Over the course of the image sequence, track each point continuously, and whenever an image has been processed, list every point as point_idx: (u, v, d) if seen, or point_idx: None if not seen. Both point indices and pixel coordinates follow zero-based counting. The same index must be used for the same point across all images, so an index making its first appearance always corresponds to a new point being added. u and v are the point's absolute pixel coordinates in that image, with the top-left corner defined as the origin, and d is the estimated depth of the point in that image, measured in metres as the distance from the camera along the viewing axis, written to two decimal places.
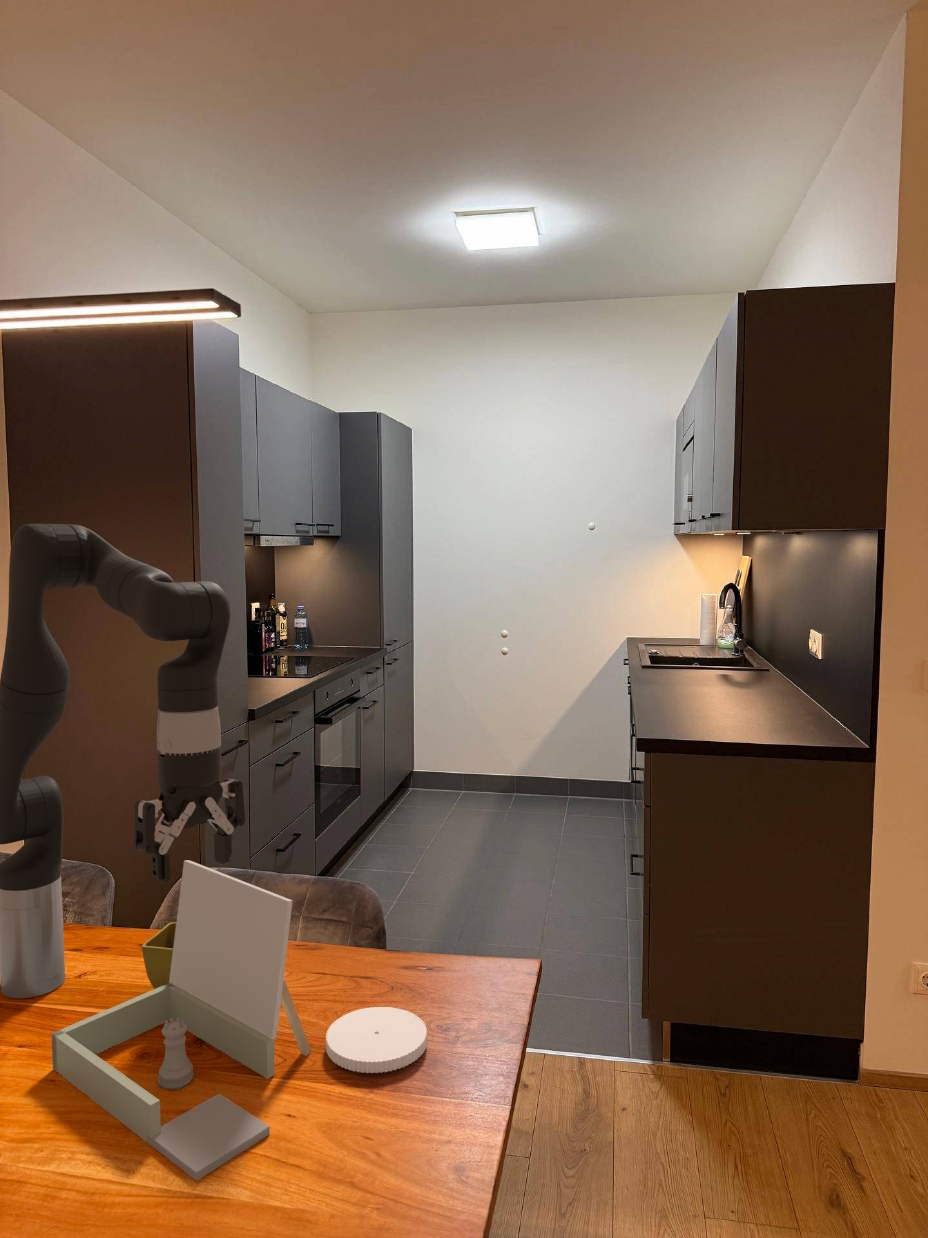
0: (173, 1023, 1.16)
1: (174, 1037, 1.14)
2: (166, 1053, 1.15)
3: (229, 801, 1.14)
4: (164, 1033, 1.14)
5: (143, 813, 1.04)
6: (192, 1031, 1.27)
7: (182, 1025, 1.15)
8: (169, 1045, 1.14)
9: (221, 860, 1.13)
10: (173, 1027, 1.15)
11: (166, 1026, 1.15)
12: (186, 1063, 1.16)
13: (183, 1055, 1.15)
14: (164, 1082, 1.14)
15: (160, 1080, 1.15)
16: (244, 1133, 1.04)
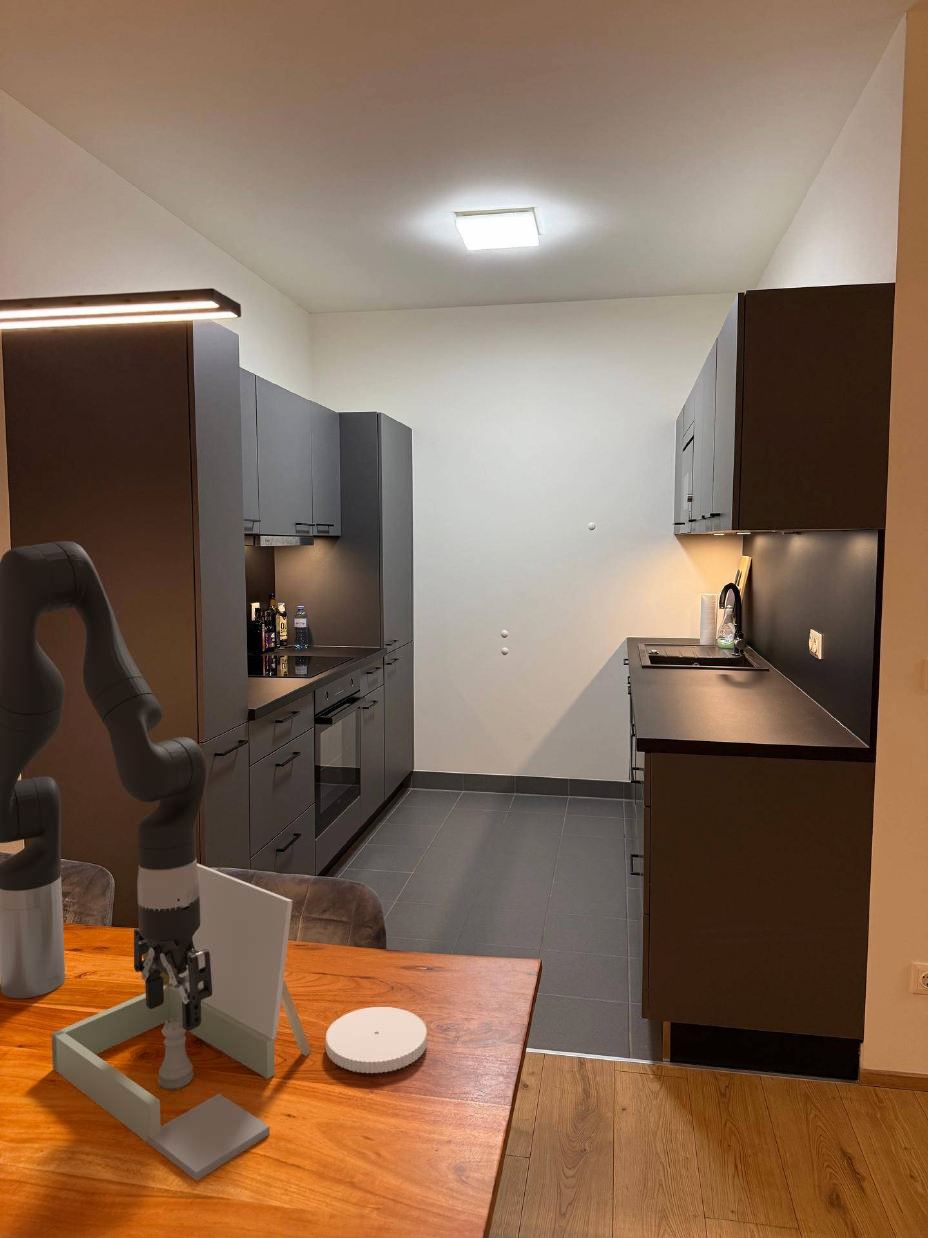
0: (173, 1023, 1.16)
1: (174, 1037, 1.14)
2: (166, 1053, 1.15)
3: (146, 948, 1.18)
4: (164, 1033, 1.14)
5: (204, 962, 1.10)
6: (192, 1031, 1.27)
7: (182, 1025, 1.15)
8: (169, 1045, 1.14)
9: (158, 1003, 1.18)
10: (173, 1027, 1.15)
11: (166, 1026, 1.15)
12: (186, 1063, 1.16)
13: (183, 1055, 1.15)
14: (164, 1082, 1.14)
15: (160, 1080, 1.15)
16: (244, 1133, 1.04)
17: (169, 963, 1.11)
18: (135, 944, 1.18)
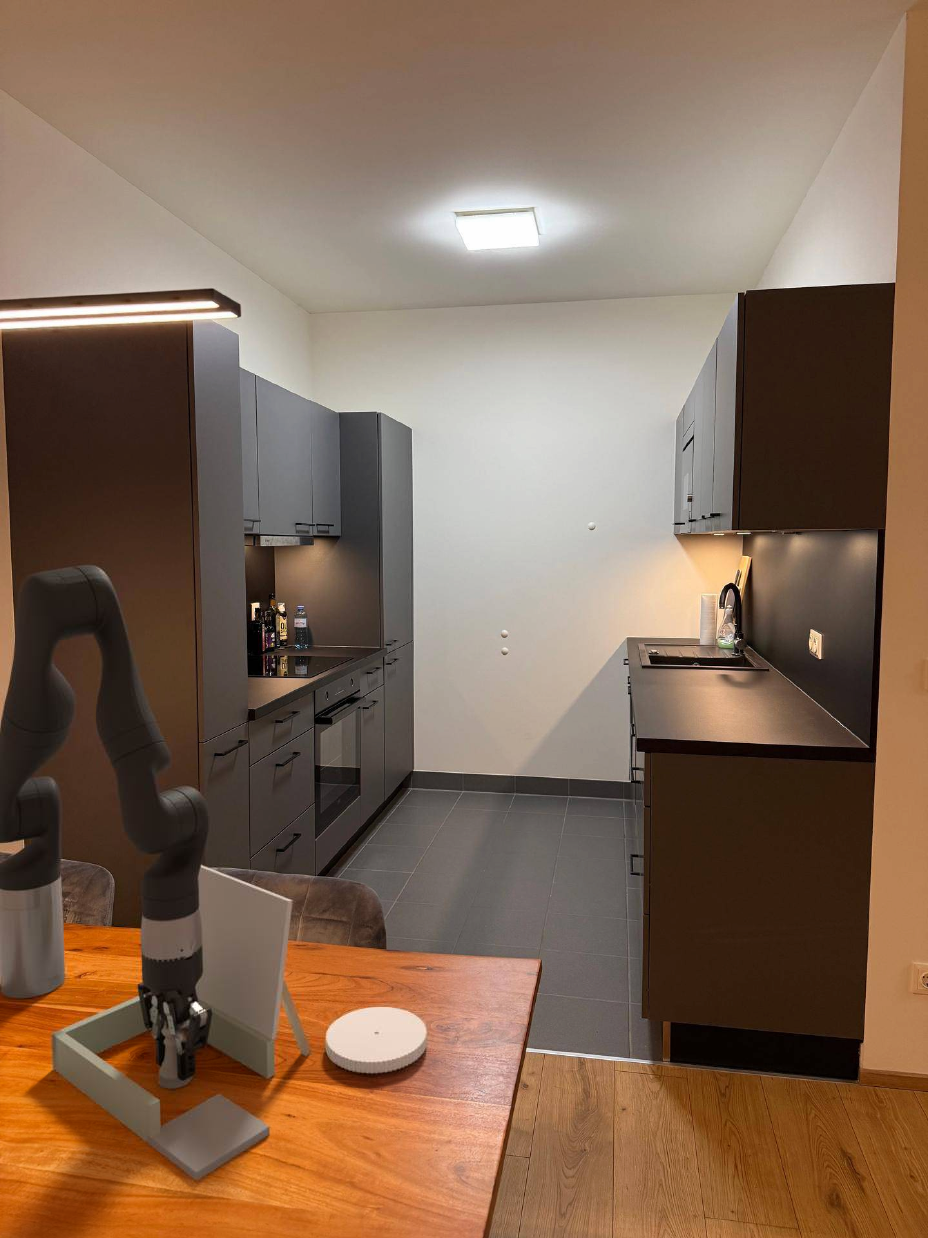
0: None
1: (174, 1037, 1.14)
2: (166, 1053, 1.15)
3: (152, 1002, 1.18)
4: (164, 1033, 1.14)
5: (206, 1020, 1.12)
6: None
7: None
8: (169, 1045, 1.14)
9: None
10: None
11: (166, 1026, 1.15)
12: None
13: None
14: (164, 1082, 1.14)
15: (160, 1080, 1.15)
16: (244, 1133, 1.04)
17: (171, 1014, 1.12)
18: (141, 1000, 1.18)
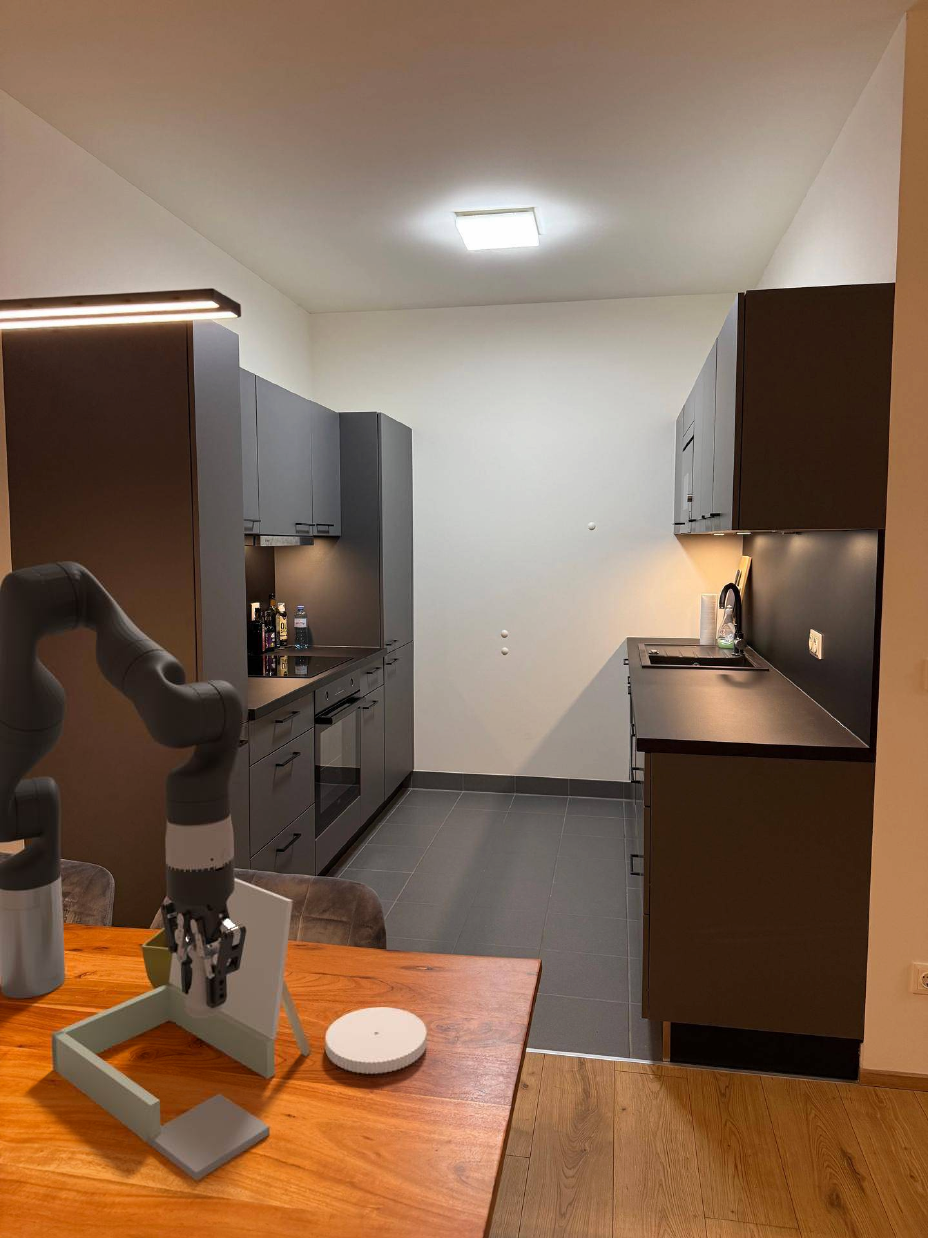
0: None
1: (202, 959, 1.01)
2: (193, 978, 1.02)
3: (177, 923, 1.06)
4: (191, 955, 1.02)
5: (239, 939, 0.99)
6: (192, 1031, 1.27)
7: (211, 946, 1.02)
8: (197, 968, 1.02)
9: None
10: None
11: (193, 947, 1.02)
12: None
13: None
14: (191, 1010, 1.02)
15: (187, 1008, 1.02)
16: (244, 1133, 1.04)
17: (200, 933, 1.00)
18: (164, 921, 1.05)
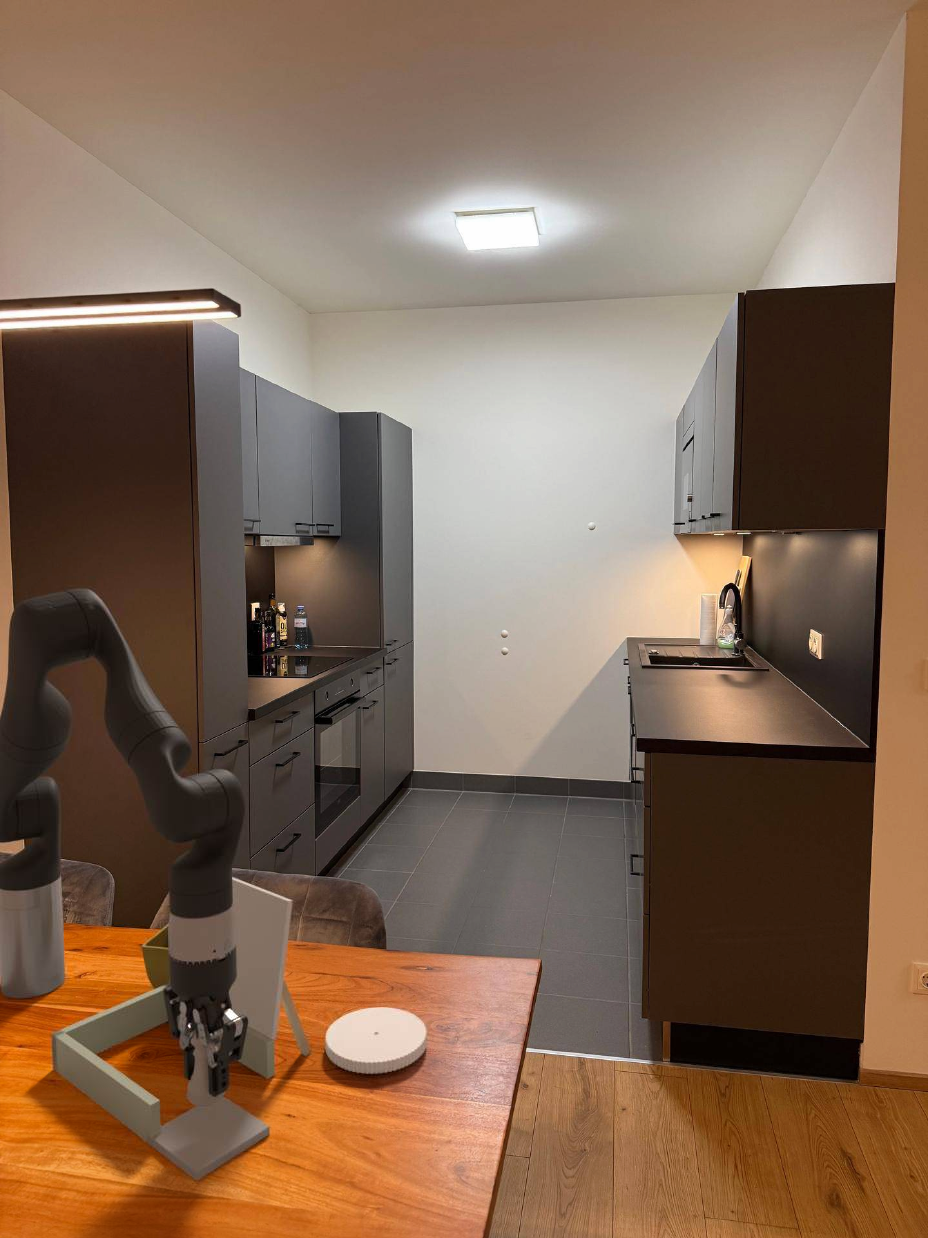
0: None
1: None
2: (196, 1065, 1.03)
3: (179, 1008, 1.06)
4: (194, 1043, 1.02)
5: (241, 1030, 1.00)
6: None
7: (214, 1034, 1.03)
8: (199, 1056, 1.03)
9: None
10: None
11: (196, 1035, 1.03)
12: None
13: None
14: (194, 1098, 1.03)
15: (189, 1095, 1.03)
16: (244, 1133, 1.04)
17: (202, 1023, 1.01)
18: (167, 1007, 1.06)
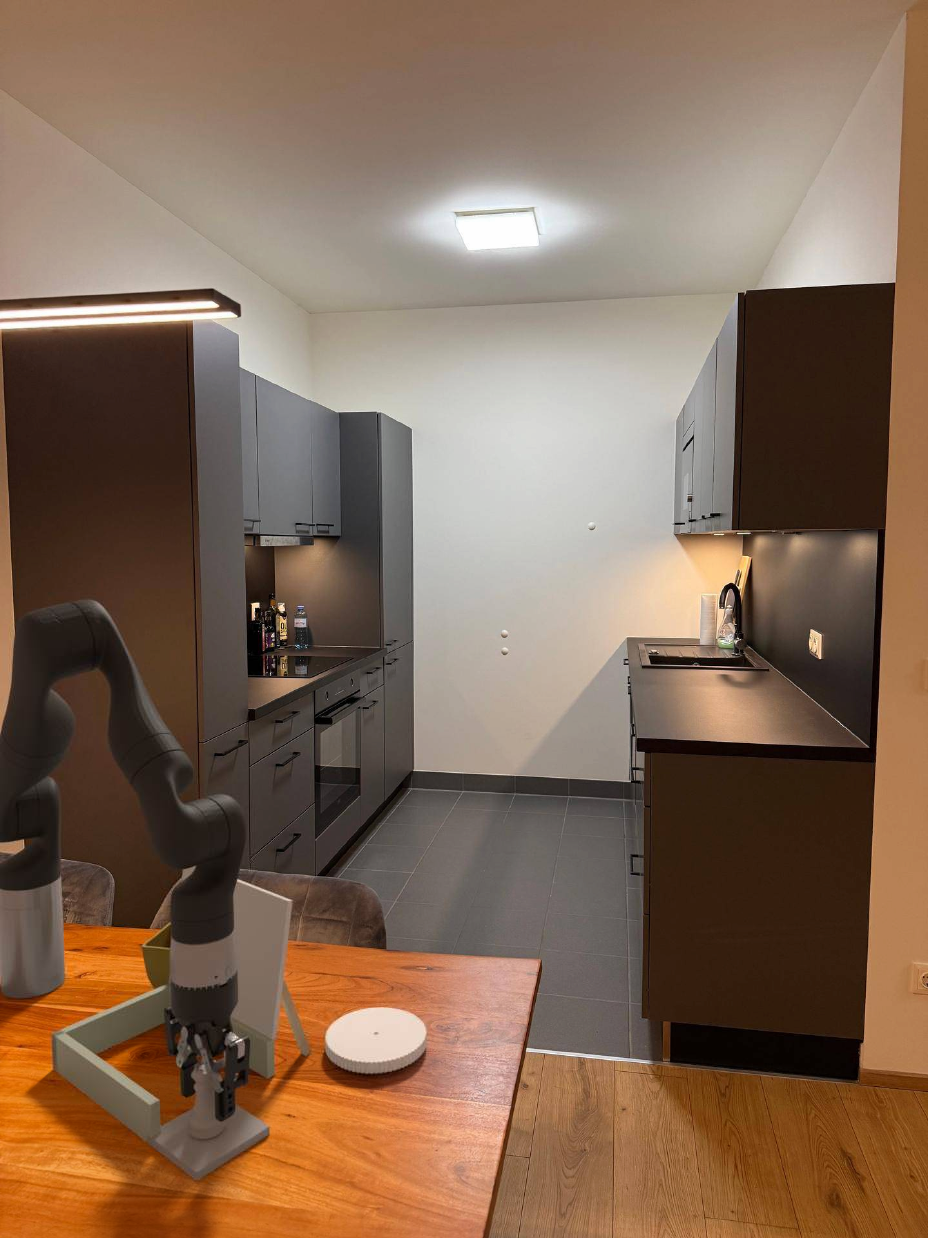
0: (204, 1066, 1.04)
1: (205, 1081, 1.03)
2: (196, 1099, 1.04)
3: (178, 1028, 1.07)
4: (194, 1077, 1.03)
5: (244, 1051, 1.00)
6: None
7: None
8: (200, 1090, 1.03)
9: (194, 1091, 1.07)
10: (204, 1070, 1.04)
11: (196, 1069, 1.03)
12: None
13: None
14: (195, 1132, 1.03)
15: (190, 1129, 1.04)
16: (244, 1133, 1.04)
17: (205, 1047, 1.01)
18: (166, 1025, 1.07)
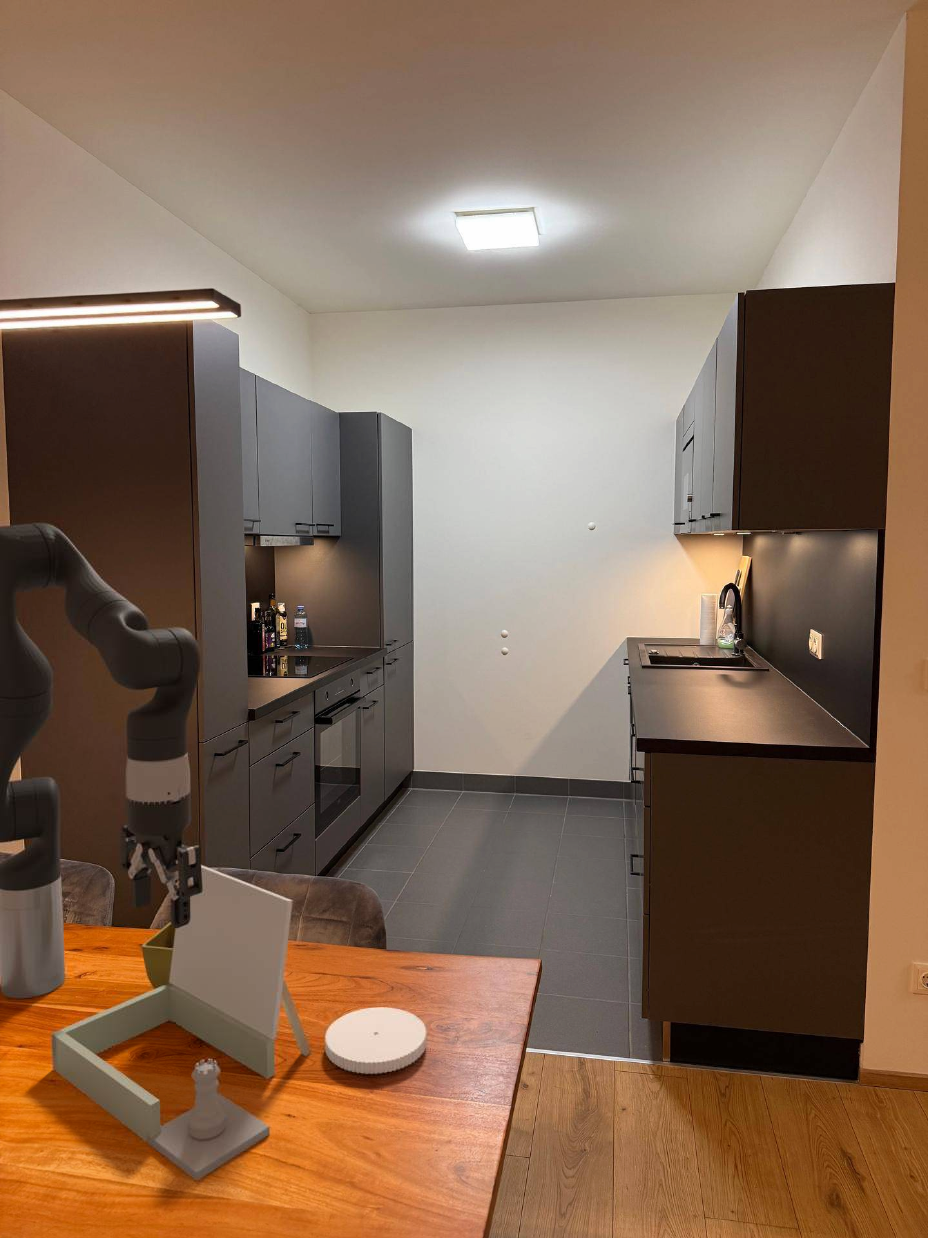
0: (205, 1066, 1.04)
1: (205, 1082, 1.03)
2: (197, 1099, 1.04)
3: (133, 845, 1.14)
4: (195, 1077, 1.03)
5: (195, 857, 1.06)
6: (192, 1031, 1.27)
7: (214, 1068, 1.04)
8: (200, 1091, 1.03)
9: (145, 902, 1.14)
10: (205, 1070, 1.03)
11: (197, 1069, 1.03)
12: (219, 1110, 1.04)
13: (215, 1101, 1.04)
14: (195, 1132, 1.03)
15: (190, 1129, 1.04)
16: (244, 1133, 1.04)
17: (158, 859, 1.07)
18: (122, 842, 1.13)
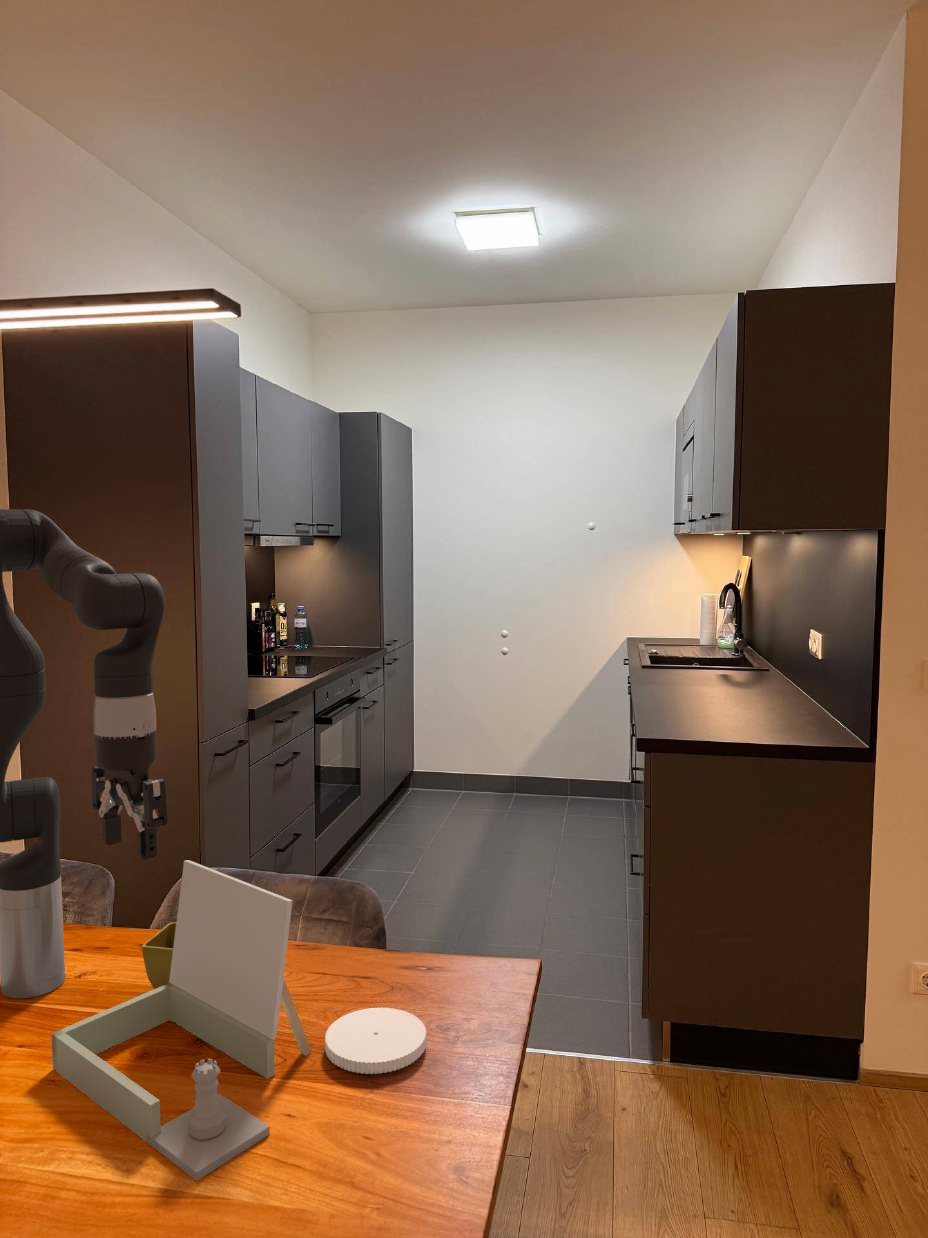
0: (205, 1066, 1.04)
1: (205, 1082, 1.03)
2: (197, 1099, 1.04)
3: (103, 786, 1.19)
4: (195, 1077, 1.03)
5: (160, 790, 1.11)
6: (192, 1031, 1.27)
7: (214, 1068, 1.04)
8: (200, 1091, 1.03)
9: (115, 841, 1.18)
10: (204, 1071, 1.03)
11: (197, 1069, 1.03)
12: (219, 1110, 1.04)
13: (215, 1101, 1.04)
14: (195, 1132, 1.03)
15: (190, 1129, 1.04)
16: (244, 1133, 1.04)
17: (125, 793, 1.12)
18: (93, 782, 1.18)
